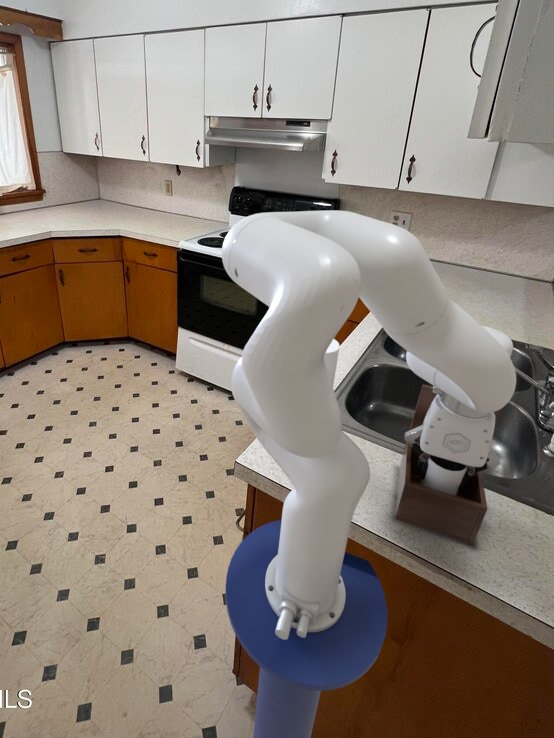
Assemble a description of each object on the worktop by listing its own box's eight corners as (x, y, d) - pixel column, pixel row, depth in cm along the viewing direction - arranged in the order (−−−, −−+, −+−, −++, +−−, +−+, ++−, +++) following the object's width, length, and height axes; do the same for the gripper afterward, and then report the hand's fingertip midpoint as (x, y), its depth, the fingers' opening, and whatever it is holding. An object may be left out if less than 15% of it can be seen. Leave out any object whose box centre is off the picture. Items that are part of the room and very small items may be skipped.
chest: (472, 545, 72) (487, 509, 69) (395, 518, 77) (404, 483, 73) (467, 490, 83) (479, 456, 79) (399, 469, 87) (407, 436, 84)
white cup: (457, 493, 80) (470, 453, 76) (451, 519, 75) (466, 478, 71) (419, 478, 83) (430, 438, 79) (412, 501, 78) (423, 461, 74)
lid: (503, 405, 71) (500, 381, 76) (422, 386, 76) (424, 365, 80) (480, 456, 79) (478, 431, 83) (408, 436, 83) (410, 413, 88)
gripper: (409, 398, 69) (389, 478, 77) (532, 428, 63) (496, 512, 71) (411, 374, 76) (392, 451, 83) (522, 399, 70) (491, 480, 77)
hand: (440, 478), depth 77 cm, fingers closed on white cup, 5 cm apart
